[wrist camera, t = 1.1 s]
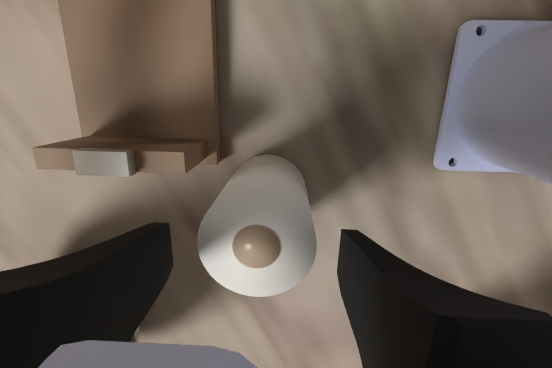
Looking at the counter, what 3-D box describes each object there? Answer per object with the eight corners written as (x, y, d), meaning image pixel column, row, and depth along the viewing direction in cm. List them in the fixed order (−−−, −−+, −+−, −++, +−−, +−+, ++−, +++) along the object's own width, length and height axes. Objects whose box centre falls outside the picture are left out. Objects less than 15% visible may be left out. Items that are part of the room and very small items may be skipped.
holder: (213, -48, 15) (171, -128, 9) (220, 160, 18) (192, 188, 13) (62, -49, 15) (-63, -129, 10) (96, 156, 18) (17, 182, 13)
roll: (308, 155, 18) (320, 192, 11) (304, 228, 19) (312, 300, 12) (228, 153, 18) (192, 188, 11) (230, 225, 19) (199, 295, 13)
